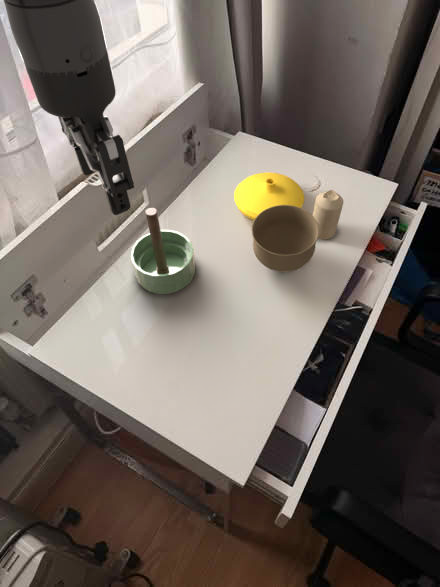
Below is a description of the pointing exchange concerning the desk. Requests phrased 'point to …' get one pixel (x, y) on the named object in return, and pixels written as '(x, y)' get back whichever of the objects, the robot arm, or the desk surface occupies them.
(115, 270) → the desk surface
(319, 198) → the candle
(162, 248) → the stirring stick
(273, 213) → the bowl
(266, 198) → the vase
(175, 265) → the mixing bowl
